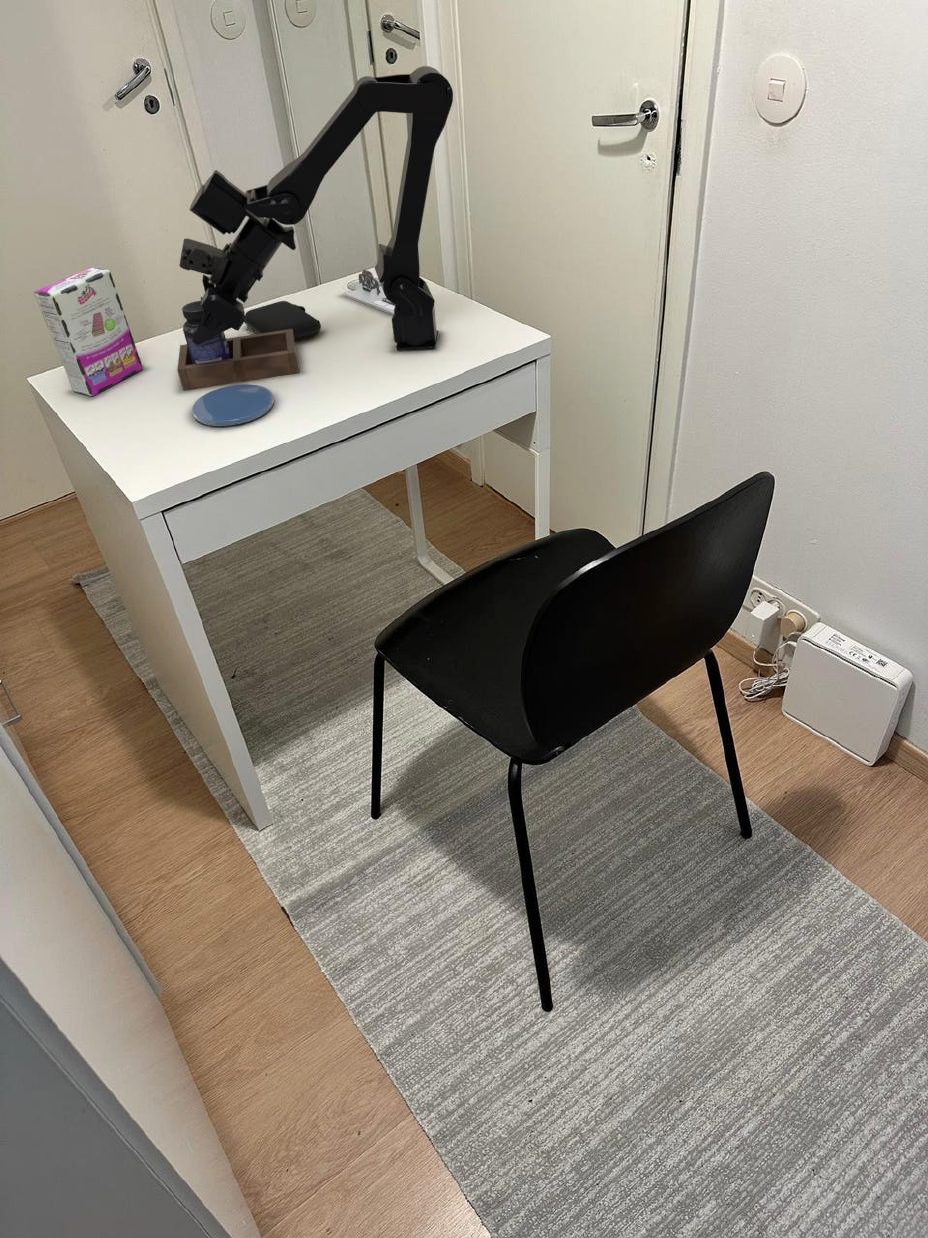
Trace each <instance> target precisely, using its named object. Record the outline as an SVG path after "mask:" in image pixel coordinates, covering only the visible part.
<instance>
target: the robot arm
mask: <svg viewBox="0 0 928 1238" xmlns="http://www.w3.org/2000/svg"><path fill="white" fill-rule="evenodd" d="M453 102H454V90H453V88H452V85H451V83H450V82H449V80H448V79H447V78H446V77H445V76H444V75H443V74H442V73H441V72H440V71H439V70H438V69H436V68H435V67H432V66H429V65H427V66H426V65H423V66H420V67H417V68H416V69H415V70H413V71H411V72H410V73H399V74H397V73H396V74H390V75H384V76H383V75H382V76H370V75H368V76H367V75H365V76H361V77H360V78H358V80H357V81H355V84H354V87H353V89H352V90H351V91H350V93H348V95H347V97H346V98H345V99H344V100H343V102H342V103H341V104H340V106H339V107H338V108H337V109H336V111H335V112H334V113H333V114H332V116H331V117H330V118H329V119H328V121H327V122H326V123H325V125H324V126H323V127H322V128H321V130H320V131H319V132H318V134H317V135H316V137H315V138H313V140H312V141H311V143H310V144H309V145H308V146H307V148H306V149H305V150H304V151H303V152H302V153H301V154H300V155H299V156H298V157H296V158H295V159H294V160H292V161H290V162H289V163H288V164H286V165H285V166H284V167H282V168H281V170H280V171H278V172H277V173H276V174H275V175H274V176H273V177H271V178H270V179H269V181H268V183H267V184H264V185H260V186H258V187H255V188H251V189H247V190H246V191H245V192H244V191H243V190H241V189H240V188H239V187H238V186H237V185H235V184H234V183H232V182H231V181H230V180H228V178H227V177H226V176H225V175H224V174H222V173H221V171H219V170H217V169H215V170H214V171H213V172H212V174H211V175H210V176H209V178H208V179H206V181H205V183H204V184H203V183H202V185H200V187H199V189H198V190H197V192H196V194H195V196H194V197H193V199H192V202H191V203H190V206H189V210H188V211H189V212H191V213H193V214H194V215H195V216H197V217H198V218H200V220H202V221H203V222H205V223H206V224H208V225H209V226H210V227H212V228H213V229H215V230H216V231H217V232H219V233H220V234H221V235H223V236H224V235H225V234H228V235H231V233H232V234H235V233H236V232H237V231H238V230H239V228H240V227H241V226H242V224H243V222H244V220H245V218H246V217H247V220H246V222H244V224H243V226H242V227H241V229H240V230H239V232H238V233H237V235H236V237H235V238H234V240H233V241H232V242H229V243H226V244H225V245H224V246H223V248H222V249H221V248H218V247H216V246H214V245H211V244H208V243H204V242H201V241H198V240H195V239H191V238H184V239H183V240H182V241H183V243H182V248H181V253H180V258H179V265H178V266H179V267H180V268H181V269H183V270H185V271H194V272H196V273H199V274H202V280H201V281H202V286H203V289H204V294H203V296H200V301H201V303H200V304H201V307H202V309H203V315H202V317H201V320H200V322H199V325H198V327H197V329H196V332H195V334H194V337H193V339H192V341H193V342H194V343H195V344H197V345H199V344H201V343H203V342H205V341H207V340H208V339H210V338H212V337H214V336H216V335H218V334H220V333H222V332H224V333H225V332H226V331H228V330H230V329H233V330H234V331H237V332H238V331H240V329H241V327H243V325H244V324H245V323H244V322H245V314H246V312H245V308H244V304H245V303H246V302H247V300H248V299H249V292H250V291H251V290H252V288H253V287H254V285H255V284H256V282H257V281H259V282H260V281H261V280H262V278H263V277H264V271H265V269H266V267H267V266H268V264H269V263H270V261H271V260H272V259H273V257H274V255H275V254H276V253H277V252H278V249H279V248H280V247H281V245H282V244H283V245H285V246H286V247H287V248H289V249H290V250H292V251H295V250H296V249H297V245H296V240H295V228H294V227H293V226H295V225H296V224H297V225H298V224H299V223H300V222H301V221H302V220H303V219H304V218H305V216H306V214H307V212H308V211H309V209H310V207H311V206H312V203H313V201H314V200H315V197H316V195H317V193H318V190H319V188H320V186H321V183H322V182H323V180H324V179H325V176H327V174H328V172H329V171H330V170H331V168H333V166H334V165H335V164H336V163H337V161H338V160H339V159H340V157H341V156H342V155H343V154H344V153H345V151H346V150H347V149H348V148H349V146H351V144H352V143H353V141H355V139H356V137H358V135H359V134H360V133H361V131H362V130H363V129H364V128H365V127H366V125H367V124H368V123H369V121H370V120H371V119H372V118H373V116H375V114H376V113H396V114H397V113H398V114H405V118H406V130H407V131H406V132H407V140H406V145H405V152H404V159H403V164H402V170H401V178H400V185H399V189H398V197H397V205H396V209H395V216H394V223H393V229H392V234H391V237H390V239H389V241H388V243H387V245H384V244H382V243H379V244H378V249H377V250H378V256H377V257H378V258H377V262H376V264H375V265H374V271H375V273H376V277H377V279H378V283H380V286H382V289H383V292H384V294H385V296H386V297H387V299H388V300H389V301H391V302H392V303H394V304H396V305H395V308H394V314H393V315H391V316H392V317H391V326H392V327H391V328H392V333H393V334H392V335H393V342H394V343H395V344H396V346H395V349H396V350H397V351H416V350H434V349H436V348H437V345H438V339H439V335H440V332H439V330H438V329H437V320H436V309H435V308H436V307H435V302H436V301H435V298H434V295H432V294H433V293H432V292H431V290H430V287H429V285H428V283H427V281H426V280H425V279H423V278H422V277H421V276H420V272H421V269H420V267H421V266H420V251H419V243H420V242H419V241H420V236H421V230H422V224H423V219H424V212H425V207H426V200H427V196H428V195H427V194H428V189H429V183H430V179H431V178H430V177H431V171H432V167H433V159H434V154H435V148H436V145H437V143H438V141H439V139H440V137H441V135H442V132H443V131H444V128H445V126H446V123H447V120H448V117H449V115H450V112H451V108H452V106H453ZM283 225H285V226H283ZM207 275H208V276H207ZM239 300H240V301H241V302H240V301H239ZM243 303H244V304H243Z"/></svg>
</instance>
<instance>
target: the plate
mask: <svg viewBox="0 0 928 1238" xmlns="http://www.w3.org/2000/svg"><path fill="white" fill-rule="evenodd" d="M274 401H275V400H274V396H273V393H272V391H271V390H270V389H268V388H267V387H264V386H262V385H258V384H249V383H246V384H245V383H243V384H241V383H240V384H233V385H228V386H223V387H220V388H219V387H218V388H216V389H214V390H211V391H209V392H207V393H205V394H203V395H202V396H200V397H198V399H197V400H195V402H194V403H193V405H192V413H193V417H194V418H195V419H196V420H197V421H198V422H199V423H200V424H203V425H208V426H214V427H226V426H235V425H241V424H244V423H248V422H250V421H254V420H256V419H258V418H260V417H262V416H263V415H265V414H266V413H267V412H269V411H270V410H271V408H273V405H274Z"/></svg>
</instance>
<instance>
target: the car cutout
mask: <svg viewBox="0 0 928 1238" xmlns="http://www.w3.org/2000/svg"><path fill="white" fill-rule="evenodd" d="M361 271H362V272H361V273H359V274H358V283H357V284H356V285H355V288H354V290H351V291H348V292H347V293H344V297H345V298H348V299H351V300H354V301H356V302H358V303H360V304H364V305H366V306H369V307H371V308H374V309H377V310H378V311H382V312H385V313H387V314H390V315H391V316H393V314H394V308H395V305H396V304H394V303H392V302H391V301H389V300H388V299H387V297H386V296H385V294H384V292H383V289H382V286H381V285H380V284H379V280H377V278H375V277H374V274H373V273H372V272H371V271H370V270H367V269H362V270H361Z"/></svg>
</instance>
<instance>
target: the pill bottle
mask: <svg viewBox="0 0 928 1238" xmlns="http://www.w3.org/2000/svg"><path fill="white" fill-rule="evenodd" d="M200 303H201V300H196V301H195V300H194V301H192V302H189V303H186V304H185V305H183V306H182V308H181V311H182V315H183V319H185V320H186V321H185V322H184V323H183V325H182V331H183V336H184V339H185V342H186V344H187V346H188V349H189V353H190V356H191V360H192V363H193V364H199V363H206V362H213V361H219V360H226V359H231V356H230V352H229V349H228V345H227V341H226V338H227V337H226V333H225V331H224V332H222V333H220V334H218V335H216V336H214V337H212V338H210V339H208V340H207V341H205V342H203V343H201V344H199V345H197V344H195V343H194V342H193V341H192V339H193V337H194V334H195V332H196V329H197V327H198V325H199V322H200V320H201V317H202V315H203V309H202V307H201V304H200Z"/></svg>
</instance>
